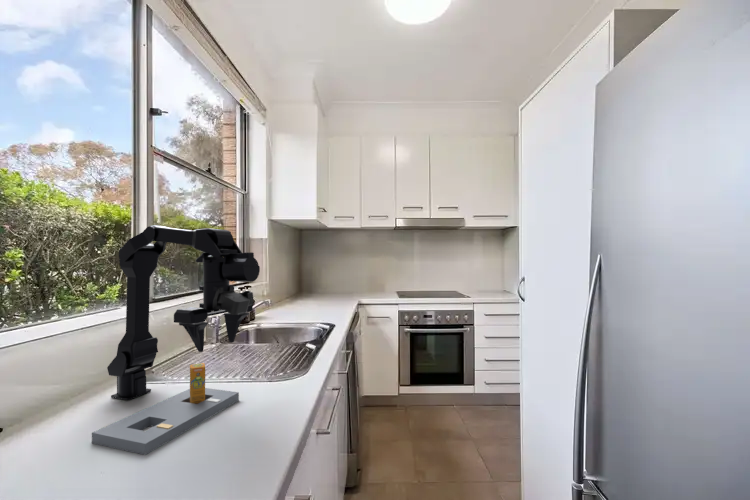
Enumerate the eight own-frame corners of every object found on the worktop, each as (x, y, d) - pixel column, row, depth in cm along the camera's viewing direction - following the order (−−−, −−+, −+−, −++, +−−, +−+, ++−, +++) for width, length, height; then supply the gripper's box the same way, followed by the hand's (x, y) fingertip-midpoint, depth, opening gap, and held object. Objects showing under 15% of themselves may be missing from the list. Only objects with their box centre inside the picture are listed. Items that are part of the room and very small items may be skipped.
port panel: (91, 443, 68) (91, 431, 68) (194, 394, 92) (194, 385, 92) (145, 454, 64) (145, 442, 64) (238, 400, 88) (238, 391, 88)
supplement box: (189, 411, 82) (189, 368, 82) (189, 405, 85) (189, 364, 85) (205, 408, 84) (205, 365, 84) (204, 402, 87) (204, 362, 87)
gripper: (209, 285, 72) (210, 361, 72) (269, 279, 90) (269, 340, 89) (171, 284, 77) (172, 356, 76) (235, 278, 94) (236, 337, 94)
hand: (216, 346), depth 84 cm, fingers open, 9 cm apart
